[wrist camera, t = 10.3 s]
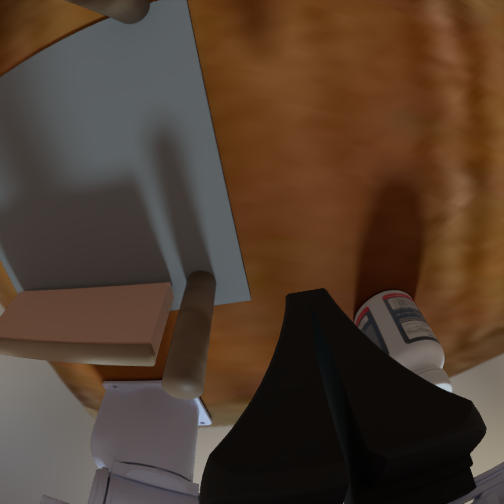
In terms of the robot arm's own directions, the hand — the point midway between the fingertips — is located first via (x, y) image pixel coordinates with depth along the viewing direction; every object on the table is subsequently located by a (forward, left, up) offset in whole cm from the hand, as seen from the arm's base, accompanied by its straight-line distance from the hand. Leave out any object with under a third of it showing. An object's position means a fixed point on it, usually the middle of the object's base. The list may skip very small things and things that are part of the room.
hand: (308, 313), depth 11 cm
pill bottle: (+7, -10, -10) cm, 16 cm away
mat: (-13, +4, -9) cm, 17 cm away
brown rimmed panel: (-15, -3, -9) cm, 18 cm away
